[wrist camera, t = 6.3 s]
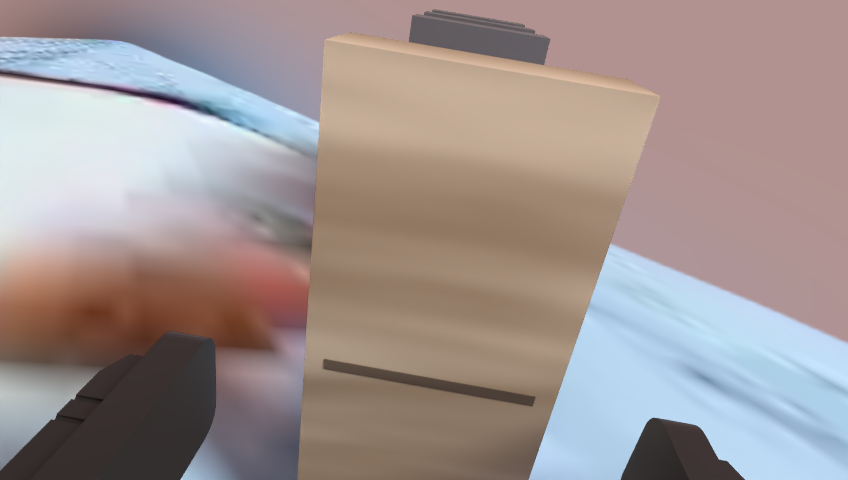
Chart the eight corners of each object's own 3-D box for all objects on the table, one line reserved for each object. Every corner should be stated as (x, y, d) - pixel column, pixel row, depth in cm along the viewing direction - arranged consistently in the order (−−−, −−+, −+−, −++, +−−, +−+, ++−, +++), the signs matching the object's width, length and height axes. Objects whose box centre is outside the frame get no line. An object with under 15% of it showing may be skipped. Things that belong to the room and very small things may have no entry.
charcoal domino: (482, 316, 23) (550, 39, 18) (375, 297, 24) (412, 15, 18) (482, 295, 25) (544, 35, 20) (382, 277, 25) (417, 14, 20)
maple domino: (491, 587, 13) (661, 97, 7) (292, 551, 13) (324, 39, 8) (489, 519, 14) (627, 79, 9) (313, 487, 14) (351, 32, 9)
